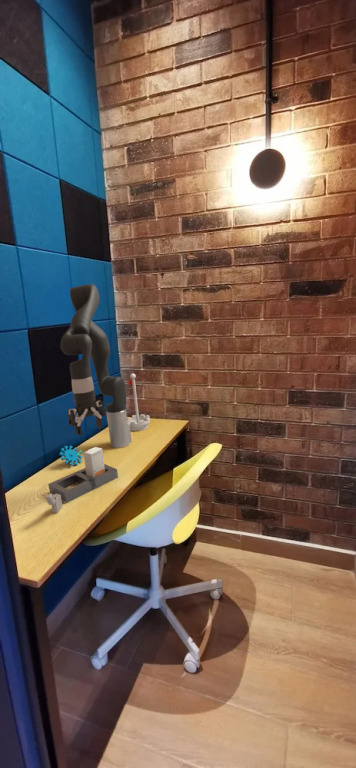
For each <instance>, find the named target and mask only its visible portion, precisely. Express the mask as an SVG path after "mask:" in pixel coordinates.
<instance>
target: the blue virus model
mask: <svg viewBox="0 0 356 768" xmlns="http://www.w3.org/2000/svg"><path fill="white" fill-rule="evenodd" d="M82 452H83V450H82V449H79V451H78V448H77V447H74V448H73V446H72V445H69V446H68V445H64V447H62V448H60V452H59V456H61V457H60V460H61V461H64V464H65V465H67V464H68V463H69V462H70V463H69V466H70V467H73V465H74V466H78V465H79V464H81V462H82V458H83V455H81V454H82Z"/></svg>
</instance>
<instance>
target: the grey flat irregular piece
mask: <svg viewBox="0 0 356 768" xmlns="http://www.w3.org/2000/svg"><path fill="white" fill-rule="evenodd" d="M44 499H45V501H46V503H47V504H48V505H49V506H51V511H52V514H58V513H59V512H60V510H61V509H62V508H63V501H62V500H61V495H58V494H54V495H53V494H51V493H46V494H45V496H44Z"/></svg>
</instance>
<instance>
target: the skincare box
mask: <svg viewBox="0 0 356 768" xmlns="http://www.w3.org/2000/svg"><path fill="white" fill-rule="evenodd" d="M103 452H104V451H103V448H101V447H96V446H94V447H93V448H90V449H88V450H86V451H83V458H84V466H85V467H84V468H86V475H87V476H88V477H90V478H93V477H96V476H98V475H100V474H102V473H104V472H105V467H104V464H105V461H104V453H103Z"/></svg>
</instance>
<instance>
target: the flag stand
mask: <svg viewBox="0 0 356 768" xmlns="http://www.w3.org/2000/svg"><path fill="white" fill-rule="evenodd" d="M129 377H130V380H128V381H127V383H128V384H129V385H130V386H132V392H133V401H134V402H133V403H134V409H135V415H134V414H132V415H131V417H128V416H127V421H128V423H129V424H130V432H132V431H133V432H139V431H144V430H146V429H148V428H149V424H150V422H151V419H150V417H151V416H150V415H148V414H147V415H145V414H140V415H139V413H140V412H139V407H138V406H139V405H138V397H137V396H138V395H137V387H136V380H135V379H136V377H137V376H136V374H135V373H130V376H129Z"/></svg>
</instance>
